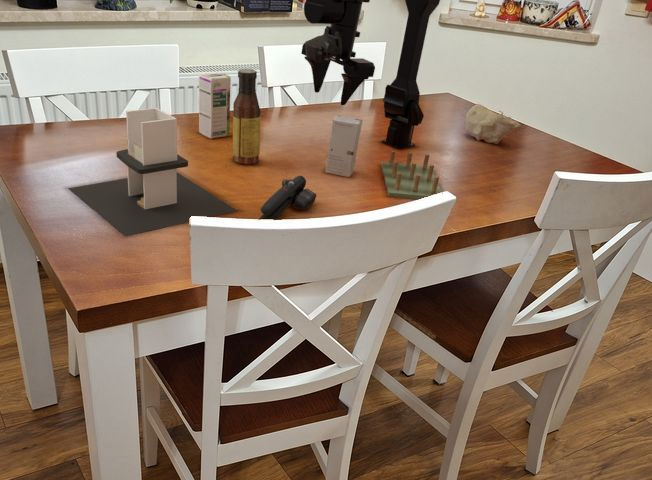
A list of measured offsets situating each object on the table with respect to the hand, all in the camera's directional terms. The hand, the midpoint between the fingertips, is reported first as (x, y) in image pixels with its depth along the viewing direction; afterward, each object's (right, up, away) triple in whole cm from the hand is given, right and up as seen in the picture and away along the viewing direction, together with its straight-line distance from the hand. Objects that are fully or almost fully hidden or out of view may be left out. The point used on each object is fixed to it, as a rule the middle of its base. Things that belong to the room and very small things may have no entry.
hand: (329, 98), depth 148 cm
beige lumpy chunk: (+48, 0, +32) cm, 58 cm away
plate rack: (+19, -19, 0) cm, 27 cm away
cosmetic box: (+3, -16, +2) cm, 17 cm away
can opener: (-11, -30, -19) cm, 37 cm away
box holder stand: (-37, -28, -19) cm, 50 cm away
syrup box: (-28, -2, +18) cm, 34 cm away
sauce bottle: (-19, -13, +4) cm, 24 cm away
